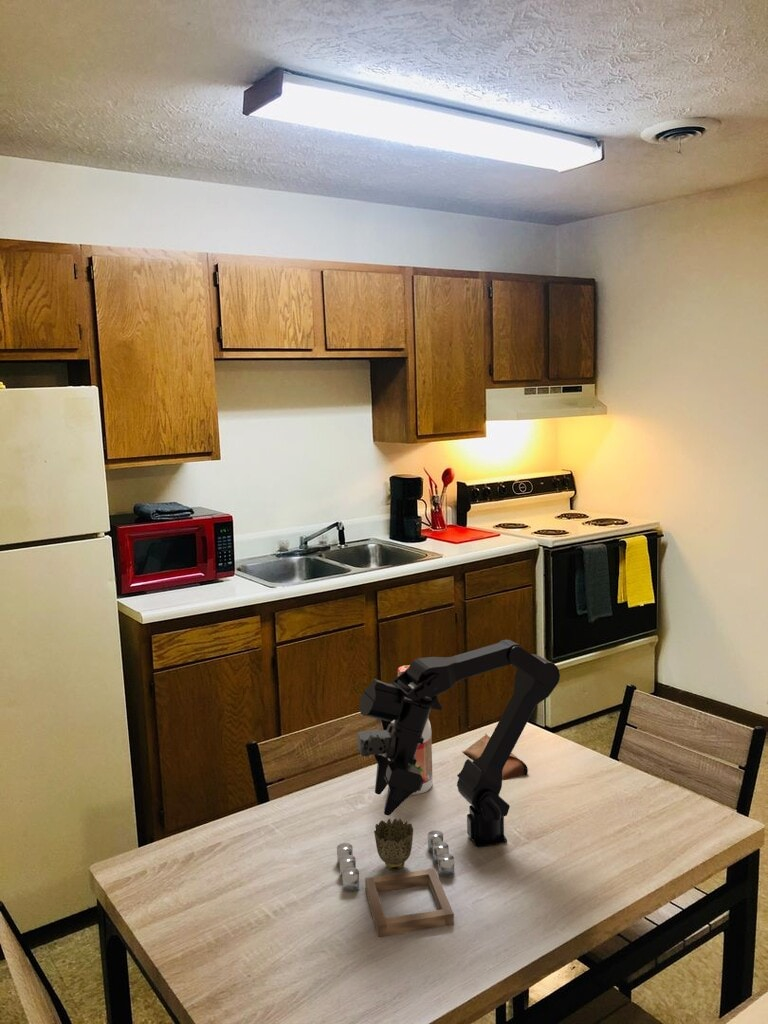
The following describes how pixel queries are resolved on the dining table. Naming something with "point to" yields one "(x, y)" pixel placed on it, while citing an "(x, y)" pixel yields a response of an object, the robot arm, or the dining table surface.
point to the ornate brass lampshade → (394, 842)
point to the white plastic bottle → (422, 751)
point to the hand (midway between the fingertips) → (381, 803)
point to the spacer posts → (434, 846)
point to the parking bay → (413, 920)
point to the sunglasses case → (513, 764)
